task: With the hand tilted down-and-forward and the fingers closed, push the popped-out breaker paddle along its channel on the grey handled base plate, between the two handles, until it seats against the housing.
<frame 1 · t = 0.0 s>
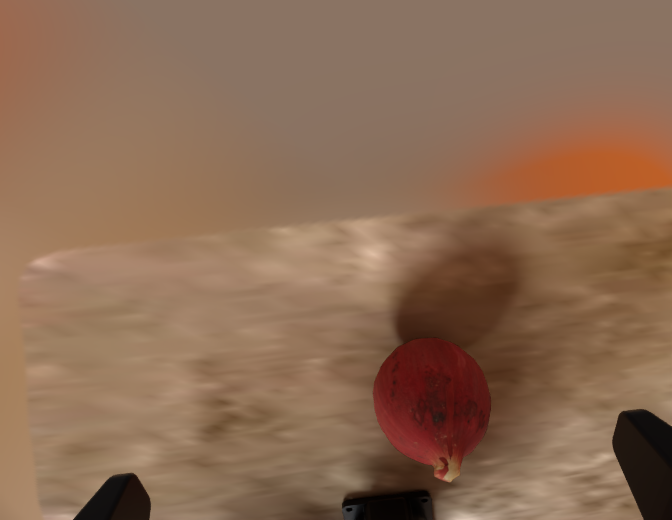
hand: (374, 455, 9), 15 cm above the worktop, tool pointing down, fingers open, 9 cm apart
onion: (416, 345, 27), on the worktop
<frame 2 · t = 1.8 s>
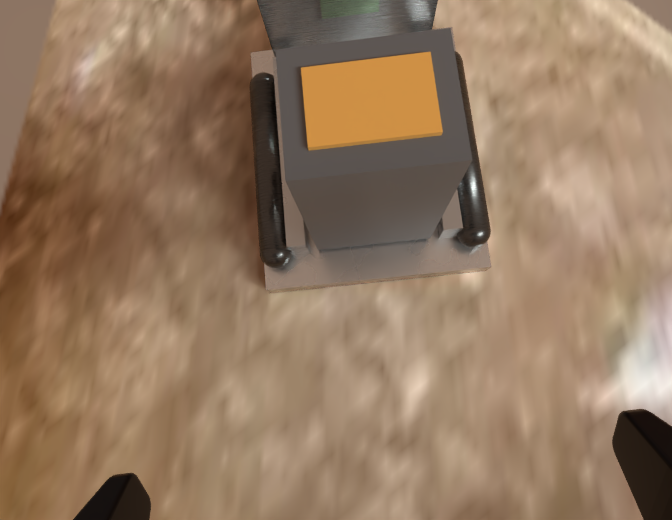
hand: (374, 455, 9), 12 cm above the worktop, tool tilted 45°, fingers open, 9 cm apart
breaker paddle: (369, 162, 17), point 6 cm above the worktop, slide at 0.0 cm
grey handled base plate: (364, 170, 23), on the worktop
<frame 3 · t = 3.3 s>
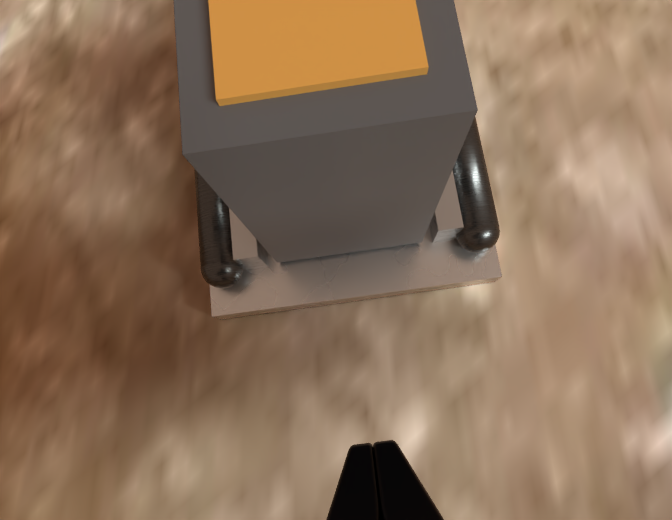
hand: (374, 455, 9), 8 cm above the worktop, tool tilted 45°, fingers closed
breaker paddle: (332, 140, 12), point 6 cm above the worktop, slide at 0.0 cm
grey handled base plate: (336, 161, 18), on the worktop
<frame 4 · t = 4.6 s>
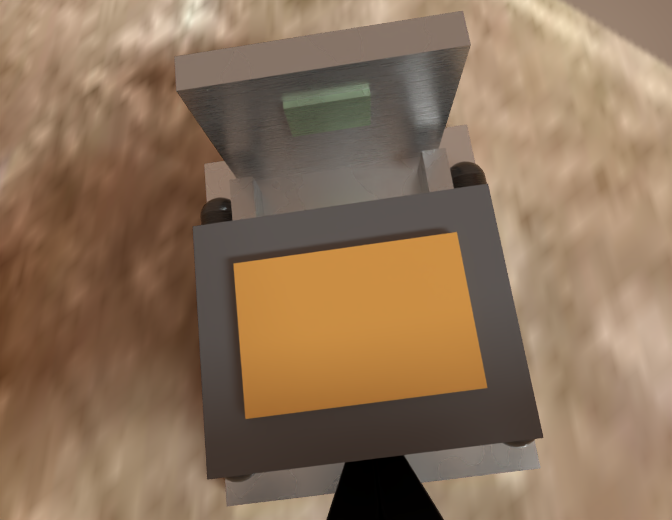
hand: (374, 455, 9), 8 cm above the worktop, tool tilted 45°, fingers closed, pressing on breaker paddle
breaker paddle: (359, 340, 11), point 6 cm above the worktop, slide at 0.8 cm, touching gripper
grey handled base plate: (358, 318, 17), on the worktop
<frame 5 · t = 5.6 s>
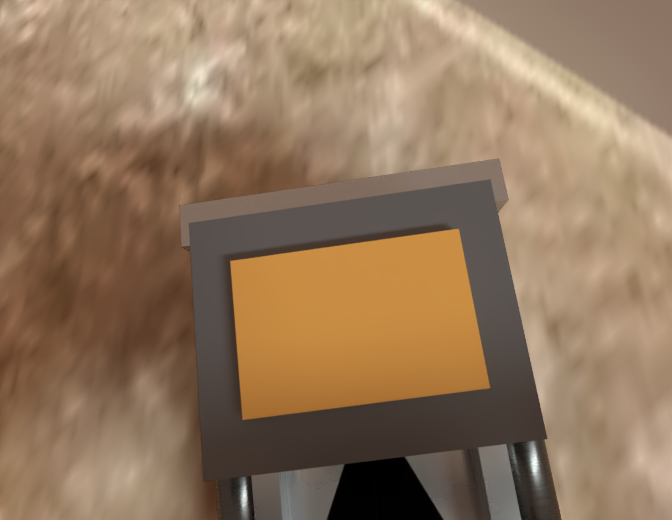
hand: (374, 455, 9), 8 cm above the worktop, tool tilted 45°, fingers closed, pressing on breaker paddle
breaker paddle: (359, 339, 11), point 6 cm above the worktop, slide at 5.0 cm, touching gripper
grey handled base plate: (374, 437, 16), on the worktop
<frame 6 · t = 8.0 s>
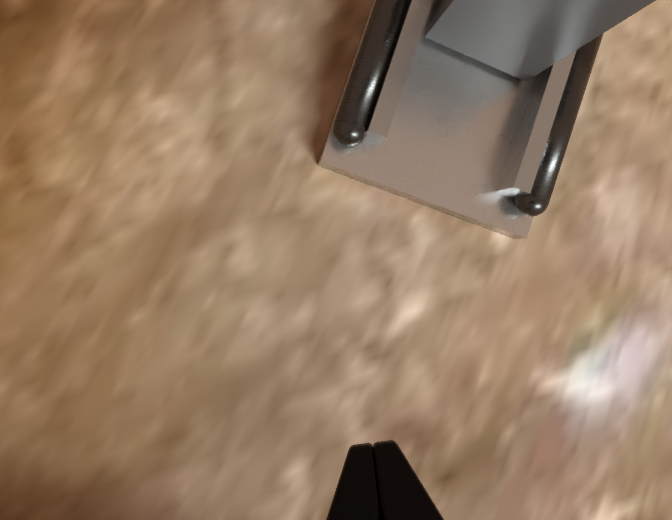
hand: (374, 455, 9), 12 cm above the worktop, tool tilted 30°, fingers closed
grey handled base plate: (456, 91, 22), on the worktop
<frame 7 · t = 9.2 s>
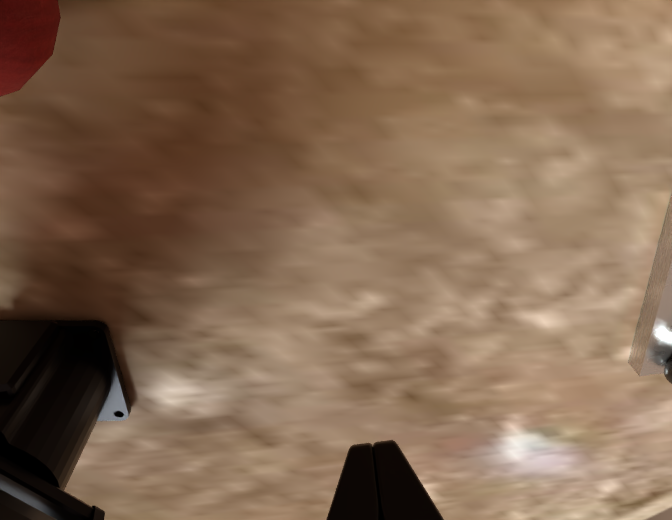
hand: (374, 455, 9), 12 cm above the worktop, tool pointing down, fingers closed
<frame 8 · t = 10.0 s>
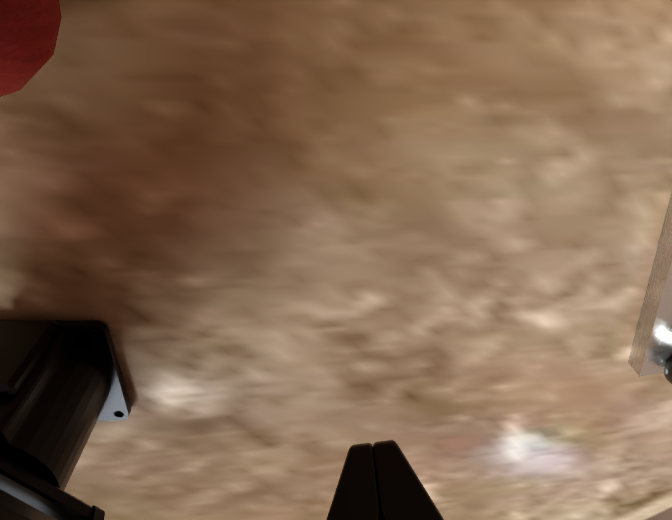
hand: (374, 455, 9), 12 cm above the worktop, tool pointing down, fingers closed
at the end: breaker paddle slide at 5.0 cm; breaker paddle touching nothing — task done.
